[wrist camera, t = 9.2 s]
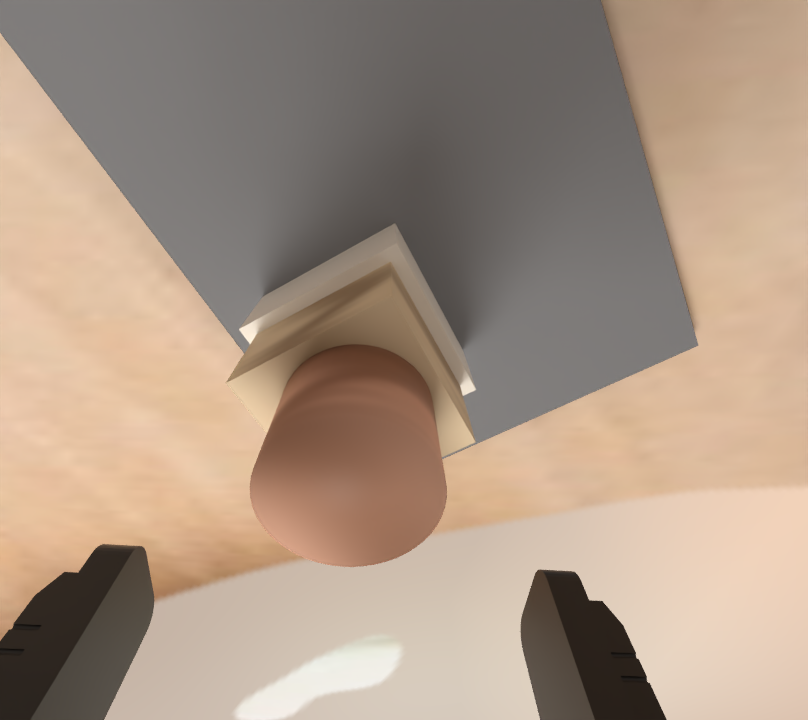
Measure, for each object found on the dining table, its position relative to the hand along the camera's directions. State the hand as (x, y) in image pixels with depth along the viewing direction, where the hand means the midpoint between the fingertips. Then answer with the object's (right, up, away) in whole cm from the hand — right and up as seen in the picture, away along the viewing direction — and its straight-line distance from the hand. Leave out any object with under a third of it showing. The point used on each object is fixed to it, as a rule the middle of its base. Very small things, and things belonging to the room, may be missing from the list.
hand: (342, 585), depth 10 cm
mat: (+1, +13, +11) cm, 17 cm away
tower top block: (0, +5, +9) cm, 11 cm away
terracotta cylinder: (0, +3, +6) cm, 7 cm away
